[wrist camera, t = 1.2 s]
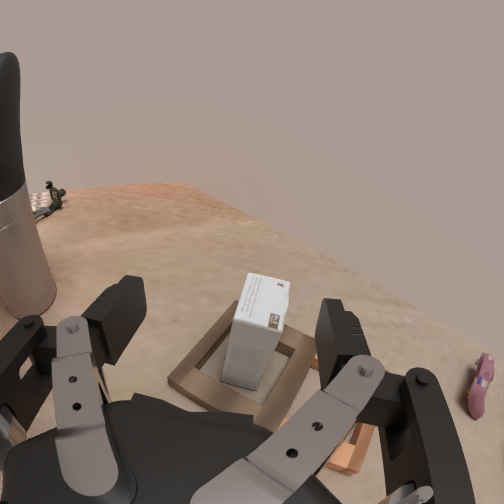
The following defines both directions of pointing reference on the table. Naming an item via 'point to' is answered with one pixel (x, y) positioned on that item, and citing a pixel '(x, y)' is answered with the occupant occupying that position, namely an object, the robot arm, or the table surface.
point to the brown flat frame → (280, 398)
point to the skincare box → (255, 330)
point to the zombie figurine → (54, 205)
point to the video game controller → (480, 385)
